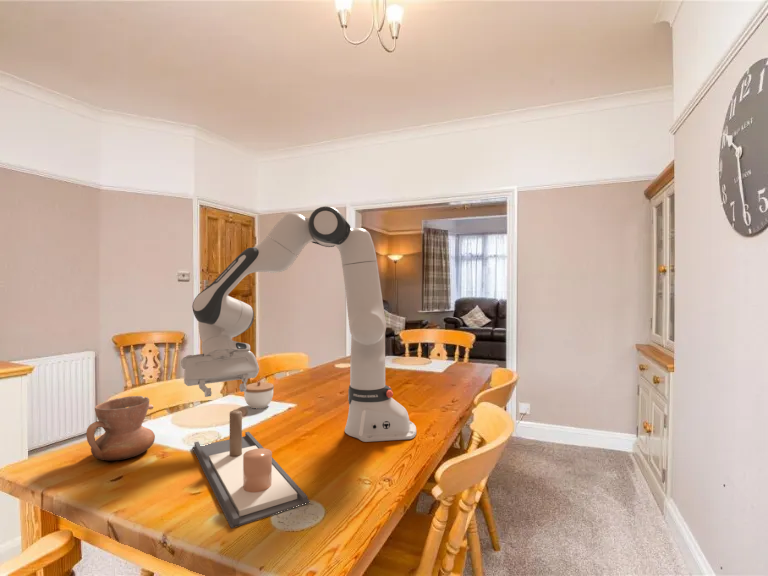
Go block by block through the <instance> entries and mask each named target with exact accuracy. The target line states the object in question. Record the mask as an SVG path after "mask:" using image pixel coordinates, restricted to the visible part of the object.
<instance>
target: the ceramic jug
mask: <svg viewBox="0 0 768 576" xmlns="http://www.w3.org/2000/svg"><path fill="white" fill-rule="evenodd" d="M153 409H154V405H153V404H152V403H151V404H150V398H149V397H148V396H145V397H144V396H142V395H131V396H123V397H118V398H113V399H109V400H107V401H104V402H101V403H99V404H97V405H95V406H94V412H95V415H96V418H97V421H95V422H93V423H91V424H90V425H88V427H87V428H86V435H85V436H86V440H87V443H88V445H89V447H90V453H91V455H92V456H93V457H94V458H96V459H97V460H101V461H121V460H126V459H127V460H128V459H130V458H133V457H134V458H135V457H136V456H139V455H141V454H143V453H145V452H146V451H147V450H149V449H150V448H151V447H152V446H153V444H154V442H155V439H156V437H155V436H156V435H155V433H154V431H153V430H152V429H150V428H148V427H145V426H143V425H142V424H143V423H144V420H145V419H146V416H147V413H148V410H153ZM98 428H102V429H103V430H104V433H103V434H101V435H100V436H99V437H98V438H97V439H96V438H95V433H96V429H98Z"/></svg>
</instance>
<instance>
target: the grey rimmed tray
mask: <svg viewBox="0 0 768 576" xmlns="http://www.w3.org/2000/svg"><path fill="white" fill-rule="evenodd" d="M244 433H245V435H244V436H242V448H246V447H251V446H255V445H256V447H257V448H264V447H263V445H261V443H260V442H259V441H258V440H257V439H256V438H255V437H254V435H253V434H252V433H251V432H250V431H245V432H244ZM210 443H211V444H209V443H207V444H208V445H205V446H200V445H201V443H200V442H199V441H194V445H193V446H192V450H193V449H194V450H193V452H194V454H196V455H195V456H197V457H196V458H198V459H197V461H198V460H199V461H198V463H199V465H200V467H201V469H202V472H203V473H204V475H205V477H206V479H207V482H208V483H209V485H210V488H211V490H212V492H213V494H214V496H215V498H216V500H217V502H218V504H219V506H220V507H221V510H222V512H223V514H224V517H225V518H226V521H227V522H228V525H229V527H230V529H234V528H237V527H239V526H240V527H241V526H242V525H243V526H244V525H247V524H249V523H253V522H256V521H258V520H262V519H265V518H268V517H271V516H273V514H274V515H277V514H276V513H278V512H281V511H284V510H287V509H290V508H293V507H296V506H298V505H302V504H305V503H309V502H310V500H309V499H308V495H307V494H306V492H304V491H303V490H302V488H301V487H300V486H299V485H298V484H297V483H296V482H295V481H294V480H293V479H292V477H291V476H290V475H289V474H288V473H287V471H285V470H284V468H282V467H281V466H280V464H279V463H278V462H277V461H276V460H275V459H274V458H273V457H272V465H273V466H274V467H275V468H276V470H277V471H278V472H279V473H280V474H281V475H282V476H283V478H284V479H285V480H286V481H287V482H288V483H289V484H290V486H291V487H292V488H293V489H294V490H295V491H296V492H297V499H295V500H292V501H289V502H285V503H282V504H279V505H276V506H273V507H269V508H266V509H263V510H260V511H256V512H253V513H250V514H247V515H244V516H240V517H239V515H238V513H237V512H236V510H235V508H234V506H233V504H232V502H231V501H230V499H229V497H228V495H227V493H226V491H225V489H224V488H223V486H222V484H221V482H220V480H219V478H218V477H217V475H216V473H215V471H214V469H213V467H212V465H211V464H210V462H209V456H210V455H214V454H219V453H223V452H228V451H230V438H229V439H225V440H220V441H216V442H215V441H214V442H210ZM309 504H310V503H309ZM305 505H306V504H305ZM302 506H303V505H302ZM296 508H297V507H296ZM293 509H294V508H293ZM290 510H291V509H290ZM287 511H288V510H287ZM284 512H285V511H284ZM281 513H282V512H281ZM278 514H279V513H278Z"/></svg>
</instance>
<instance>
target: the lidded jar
mask: <svg viewBox="0 0 768 576" xmlns="http://www.w3.org/2000/svg"><path fill="white" fill-rule="evenodd" d="M246 387H247V389H246V391H244V392H243V395H244V401H245V403H246V404H247V405H248V407H249V408H250V407H251V408H250V409H252V408H256V409H255V410H258V409H257V408H262V409H265V408H267V407H268V406H269V404H270V403H271V402H272V400H273V397H274V387H275V385H274V384H273V383H271V382H265V381H264V382H261V381H260V380H258V381H257V382H253V383H248V384H246ZM264 407H265V408H264Z"/></svg>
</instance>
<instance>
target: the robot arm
mask: <svg viewBox="0 0 768 576" xmlns="http://www.w3.org/2000/svg"><path fill="white" fill-rule="evenodd" d="M310 243H312V244H316V245H319V246H322V247H325V248H333V247H336V248H337V249H338V251H339V254H340V258H341V265H342V266H341V267H342V274H343V281H344V289H345V298H346V307H347V308H346V309H347V317H348V326H349V332H350V335H351V337H350V339H351V341H350V363H349V364H350V366H349V368H350V371H349V374H350V375H349V376H350V377H349V378H350V379H349V382H350V383H349V386H348V391H347V392H348V394H347V395H348V399H347V401H348V404H349V405H348V406H349V407H348V414H347V420H346V424H345V427H344V432H345V434H346V435H348V436H350V437H353V438H355V439H357V440H360V441H362V442H365V443H367V442H371V443H372V442H385V441H401V440H411V439H413V438H415V437H416V435H417V427H416V426H417V425H415V423H414V422H412V421H411V420H410V416H409V413H408V411H407V409H406V408H405V407H404V406H403V405H402V404H401V403H399V402H398V401H397V400H395V399H394V398H393V395H394V392H393V390H392V388H391V386H390V385H387V384H386V330H387V321H386V315H385V306H384V302H383V294H382V287H381V279H380V272H379V265H378V258H377V254H376V253H377V252H376V248H375V245H374V244H375V243H374V241H373V239H372V236H371V233H370V232H369V231H368V230H366V229H365V228H361V227H351V224H350V223H349V222H348V221H347V220H346V218H345V217H344V215H343V214H342V213H341V212H340V211H339V210H338V209H336V208H335V207H332V206H328V205H327V206H326V205H325V206H320V207H318V208H315V210H313V212H312V213H311V214H310V216H309V217H305V216H304V215H302V214H300V213H297V212H291V211H290V212H288V213H286V214H285V215H284V216H282V218H280V220H279V221H278V222H277V223H276V224H275V225H274V227H273V228H271V230H270V231H269V232H268V235H266V237H264V239H263V240H262V241H261V242H260V243H258V244H257V245H255V246H253V247H248V248H246V249H244V250H243V251H241V252H240V254H238V255H237V256H236V257H235V259H233V261H232V262H230V264H229V265H227V267H226V268H225V269H224V270H223V271H222V272H221V273H220V274H219V275H218V276H217V277H216V278H215V280H213V281H212V282H211V283H210V284H209V285H208V286H207V287H206V288H204V289H203V290H202V291H200V292H199V293H198V294H197V296H196V297H195V298H194V300H193V301H192V306H191V307H192V311H193V315H194V317H195V319H196V321H198V334H199V335H198V336H199V338H200V340H201V353H197V354H188V355H186V356H185V357H183V358H182V359H181V360H180V364H181V365H180V366H181V368H182V369H183V370H184V372H183V384H185V385H186V386H187V387H191V386H198V388H199V389H200V390H201V391H202V392H203V393H204V397H205V398H208V397H211V396H212V394H213V393H212V388H211V387H207V384H215V383H224V382H232V381H238V380H241V382H242V383H240V384H239V391H240V392H241V393H242V392H243V393H244V391H246V389H247V387H246V385H247V382H248V380H249V379H255V378H256V377H257V376H258V374H259V371H260V366H259V364H258V360H257V357H256V356H255V354H254V352H252V351H251V345H250V344H249V343H246V342H239V341H236V340H233V338H236V337H238V336H240V335H242V334H243V333H245V332H246V331H247V330H249V328H251V327H252V325H253V324H254V318H255V312H254V309H253V306H251V305H250V304H249V303H246V302H244V301H242V300H240V299H237V298H235V297H232V296H230V295H229V294H230V293H231V292H232V291H233V290H234V289H235V288H236V287H237V286H238V284H239V283H240V282H241V281H242V280H243V279H244V278H245V277H246V276H249V275H250V274H253V273H263V272H264V273H271V274H272V273H273V274H274V273H277V274H278V273H282V272H284V271H287V270H288V269H289V268H290V267H291V266H292V265H293V264H294V263H295V261H296V260H297V258H298V256H300V254H301V252H302V251H303V249H304V248H305V247H306V246H307V245H308V244H310Z"/></svg>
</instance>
